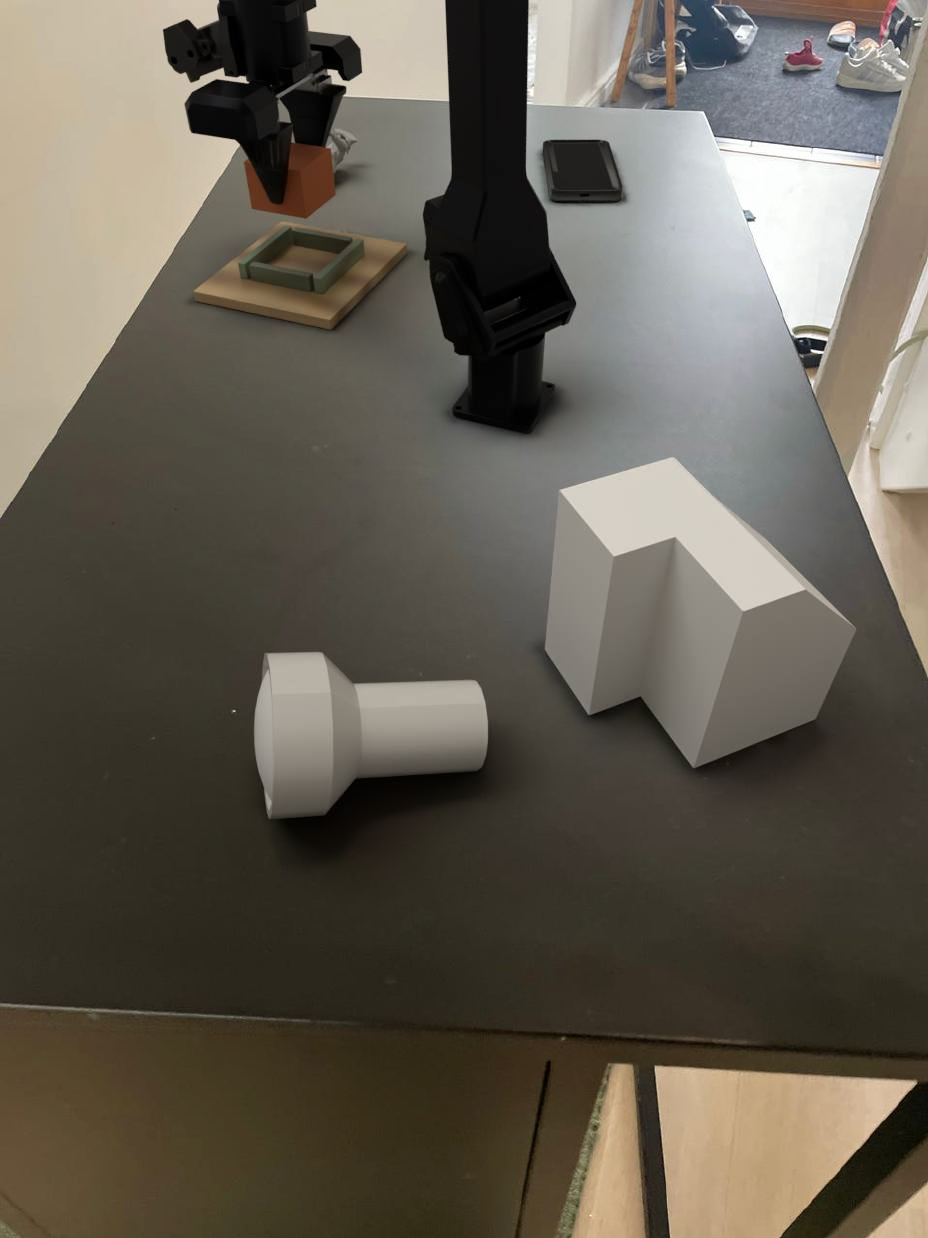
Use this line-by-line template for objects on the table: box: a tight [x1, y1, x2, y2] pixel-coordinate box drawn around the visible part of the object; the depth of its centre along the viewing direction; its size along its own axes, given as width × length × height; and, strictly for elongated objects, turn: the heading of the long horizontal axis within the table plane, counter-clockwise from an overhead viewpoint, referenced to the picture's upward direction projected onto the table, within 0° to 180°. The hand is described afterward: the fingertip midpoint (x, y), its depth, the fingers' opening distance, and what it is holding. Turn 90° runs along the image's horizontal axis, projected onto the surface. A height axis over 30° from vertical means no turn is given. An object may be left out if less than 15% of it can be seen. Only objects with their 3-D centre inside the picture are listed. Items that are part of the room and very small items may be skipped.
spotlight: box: [253, 651, 489, 820], centre depth 46 cm, size 8×11×8 cm
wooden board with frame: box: [192, 220, 408, 331], centre depth 86 cm, size 16×14×2 cm
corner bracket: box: [544, 456, 857, 769], centre depth 48 cm, size 11×11×12 cm
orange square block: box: [243, 141, 337, 220], centre depth 80 cm, size 6×6×4 cm
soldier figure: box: [326, 128, 358, 176], centre depth 100 cm, size 8×5×12 cm
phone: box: [541, 139, 623, 203], centre depth 102 cm, size 8×1×15 cm
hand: (293, 190), depth 81 cm, fingers closed on orange square block, 5 cm apart
